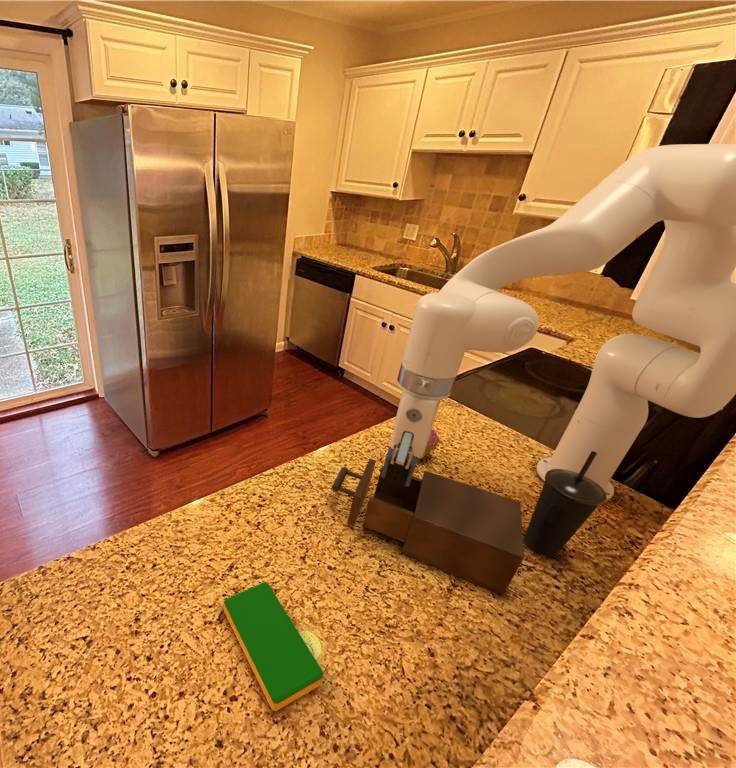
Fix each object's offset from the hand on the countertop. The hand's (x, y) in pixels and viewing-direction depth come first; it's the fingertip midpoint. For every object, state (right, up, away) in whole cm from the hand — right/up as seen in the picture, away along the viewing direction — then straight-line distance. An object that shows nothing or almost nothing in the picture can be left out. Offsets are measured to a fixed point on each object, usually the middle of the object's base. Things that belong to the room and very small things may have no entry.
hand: (397, 472), depth 69 cm
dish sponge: (-23, -20, -14) cm, 34 cm away
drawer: (-1, -8, +5) cm, 10 cm away
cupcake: (+13, -1, +22) cm, 26 cm away
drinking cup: (+25, -13, +1) cm, 28 cm away
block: (0, 0, 0) cm, 0 cm away
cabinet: (+10, -12, 0) cm, 16 cm away
